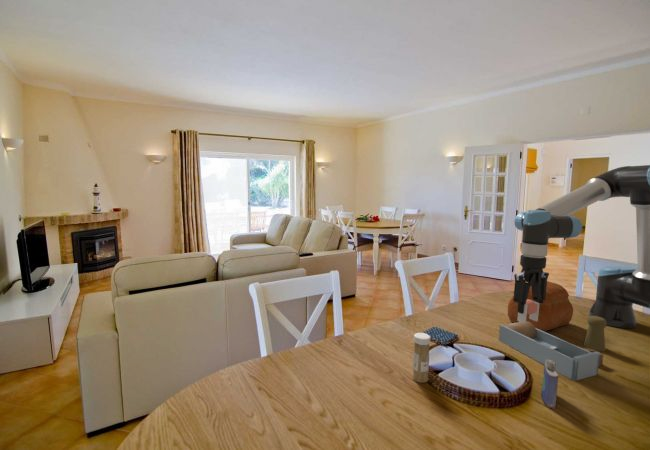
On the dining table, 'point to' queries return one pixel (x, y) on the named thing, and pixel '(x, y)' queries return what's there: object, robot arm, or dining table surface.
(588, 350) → the hollow square tube
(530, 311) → the ball
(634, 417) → the dining table surface
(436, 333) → the woven mat
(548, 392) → the flask
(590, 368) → the long open box
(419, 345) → the sprinkles bottle
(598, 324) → the cork
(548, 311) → the bread
